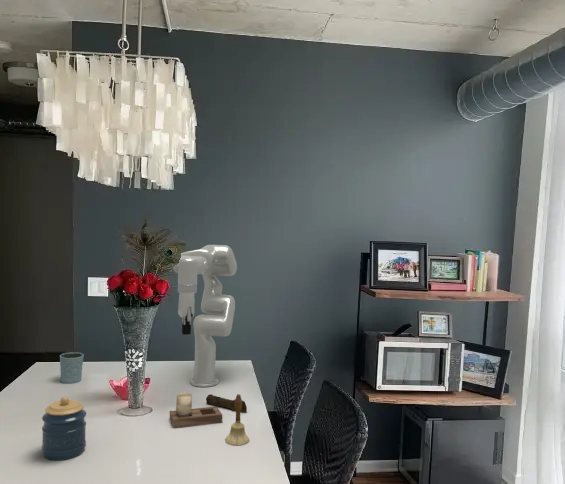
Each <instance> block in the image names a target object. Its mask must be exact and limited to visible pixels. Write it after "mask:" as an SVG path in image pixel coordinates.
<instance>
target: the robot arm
mask: <svg viewBox="0 0 565 484" xmlns="http://www.w3.org/2000/svg"><path fill="white" fill-rule="evenodd" d="M172 269H173V271H174V272H175V274H177V293H178V294H179V295H178V308H177V309H178V310H177V313H178V316H179V317H180V318H182V320H181V321H182V324H181V326H182V327H181V333H182V335H185V336H186V335H191V333H192V332H191V331H192V325H193V333H194V365H193V366H194V367H193V370H194V371H193V373H194V374H193V378H191V379H190V385H191V386H193V387H194V386H195V387H197V388H208V387H214V386H217V385H218V383H219V379H218V378H216V358H217V356H216V353H217V346H216V342H215V339H214V338H213V337H228V336H230V335H231V332H232V329H233V323H234V317H235V310H236V301H235V298H234V296H232V295H231V294H230V295H229V294H223V293H222V292H223V285H222V283H221V281H220V280H219V279H218V277H216V276H221V277H222V276H225V277H232V276H234V275H236V273H237V270H238V262H237V260H236V257H235V253H234V251H233V249H232V248H231V247H230V246H228V245H226V244H207V245H205V246H202V247H201V248H200V249H194V250H188V251H185V252H181V258H180V260H179V263H178V264H177V265H175V266H174V267H173V266H172ZM198 275H202V279H203V283H204V288H203V293H202V299H201V303H200V311H201V312H202V313H204V314H199V315H197V316H195V300H196V299H195V294H196V293H198ZM194 317H195V318H194ZM192 319H194V320H193V324H192Z"/></svg>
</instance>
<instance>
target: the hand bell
mask: <svg viewBox="0 0 565 484" xmlns="http://www.w3.org/2000/svg"><path fill="white" fill-rule="evenodd" d="M234 400H235V411H236V412H235V411H234V412H235V422H234V423H231V425H230V426H231V427H230V431H229V433H228V435H227V436H226V438H225V439H224V441H225V443H226V444H228V445H231V446H244V445H247V444H249V442H250V438H249V436H248V435H247V434H246V430H245V425H244V423H242V422H241V413H242V412H241V409H242V401H243V399H242V395H241V394H239V393H237V394H236V397H235V399H234Z"/></svg>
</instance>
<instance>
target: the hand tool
mask: <svg viewBox="0 0 565 484" xmlns="http://www.w3.org/2000/svg"><path fill="white" fill-rule="evenodd" d="M205 400H206V405H213V406H217V407H218V406H219V407H223V408H226V409H230V410H232V411H233V412H235V413H236V411H235V399H233V400H232V399H229V398H224V397H220V396H216V395H214V394H210V393H209V394H208V395H207V396H206V398H205ZM247 410H248V409H247V404H246V402H245V400H242V409H241V412H240V413H245V414H246V413H247V412H248V411H247Z"/></svg>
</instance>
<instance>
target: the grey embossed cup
mask: <svg viewBox="0 0 565 484" xmlns="http://www.w3.org/2000/svg"><path fill="white" fill-rule="evenodd" d="M83 363H84V353H83V352H78V351H77V352H76V351H75V352H74V351H72V352H71V351H70V352H65V353H64V352H63V353H61V354H60V355H59V366H60V369H59V370H60V383H61V384H65V385H66V384H67V385H70V384H71V385H72V384H77V383H80V382H81V380H82V375H83V374H82V373H83V372H82V371H83V365H84V364H83Z"/></svg>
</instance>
